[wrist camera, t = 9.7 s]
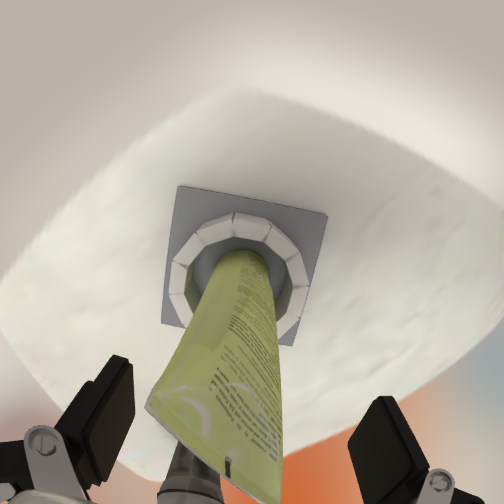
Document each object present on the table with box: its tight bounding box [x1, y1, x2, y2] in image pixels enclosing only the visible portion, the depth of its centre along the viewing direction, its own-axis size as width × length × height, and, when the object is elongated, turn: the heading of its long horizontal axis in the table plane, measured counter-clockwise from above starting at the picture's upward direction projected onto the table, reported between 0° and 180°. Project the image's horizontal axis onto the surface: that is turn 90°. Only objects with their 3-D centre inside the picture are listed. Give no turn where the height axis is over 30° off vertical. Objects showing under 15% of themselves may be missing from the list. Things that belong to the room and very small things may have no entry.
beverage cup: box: [157, 441, 224, 504], centre depth 22 cm, size 7×7×20 cm
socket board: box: [161, 186, 328, 346], centre depth 24 cm, size 13×13×5 cm
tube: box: [144, 249, 283, 504], centre depth 16 cm, size 6×5×20 cm
